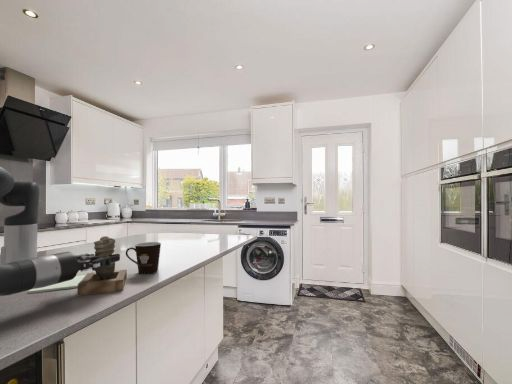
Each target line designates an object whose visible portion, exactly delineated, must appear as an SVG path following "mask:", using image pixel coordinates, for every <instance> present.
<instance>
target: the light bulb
mask: <svg viewBox="0 0 512 384" xmlns="http://www.w3.org/2000/svg"><path fill="white" fill-rule="evenodd" d="M115 243H116V239H114V238H111V237H109V236H108V235H107V236H106V235H105V236H101V237H100V238H99V240H96V241H94V242H93V244H94V246H93V248H94V250H95V251H94V255H95V254H96V255H99V256H106V255H113V254H115V252H116V251H115V248H116V244H115ZM115 269H116V262H112V263H111V265H110V266H107V267H104V268H101V269H98V270H96V271H95V272H94V273H96V274H97V275H98V276H99V277H100V280H108V279H111V275H112V273H113V272H114V271H116V270H115Z"/></svg>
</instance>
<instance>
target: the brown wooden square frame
mask: <svg viewBox="0 0 512 384" xmlns="http://www.w3.org/2000/svg"><path fill="white" fill-rule="evenodd" d="M127 272H128V271H127V269H120V270H119V269H118V270H114V272H113V273H112V275H111V279H108V280H100V277H99V276H98V275H97V274H96V272H90V273H89V272H88V273H86V274H85V275H86V276H85V277H84V278H83V279H82V280H81V282H80V283H79V284H78V288H77V297H80V296H87V295H89V296H90V295H95V294H105V293H113V292H120V291H124V287H125V285H126V282H127V280H128V279H127V277H128V276H127V274H128V273H127Z"/></svg>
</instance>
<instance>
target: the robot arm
mask: <svg viewBox="0 0 512 384" xmlns="http://www.w3.org/2000/svg"><path fill="white" fill-rule="evenodd" d="M39 202H40V186H39V185H38V183H36V182H34V181H15V178H14V176H13V174H12V173H10V171H8V170H7V169H6V168H4V167H3V166H0V204H1V205H3V206H6V207H24V209H23V210H22V211H21V212H19V213H16V214H14V215H12V214H11V215H10V216H6V217H5V218H4V221H3V223H4V224H3V246H1V247H0V297H1V296H2V297H5V296H11V295H15V294H19V293H22V292H26V291H27V292H28V291H29V290H31V289H36V288H42V287H46V286H50V285H54V284H58V283H61V282H65V281H69V280H72V279H73V278H74V277H75V276H77V274H78V273H79V272H87V271H89V270H92V271H96V270H98V269H101V268H104V267H107V266H110V265H111V263H112V262H115V263H116V262H120V260H121V254H120V253H113V254H112V255H106V256H99V255H96V254H95V253H83V254H77V255H75V254H74V253H73V252H71V251H65V252H64V251H63V252H58V253H50V254H46V255H45V254H44V255H41V256H40V255H39V256H38V220H39V219H38V218H39Z"/></svg>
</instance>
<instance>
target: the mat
mask: <svg viewBox="0 0 512 384" xmlns="http://www.w3.org/2000/svg"><path fill="white" fill-rule="evenodd" d="M86 275H87V274H85V275H76V276H75V277H74V278H73V279H72V280H69V281H65V282H61V283H58V284H54V285H50V286H46V287H42V288H36V289H31V290H27V294H35V293H43V292H51V291H59V290H68V289H69V290H71V289H78V284H79V283H80V282H81V280H82V279H83V278H84V277H85V276H86Z"/></svg>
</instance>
